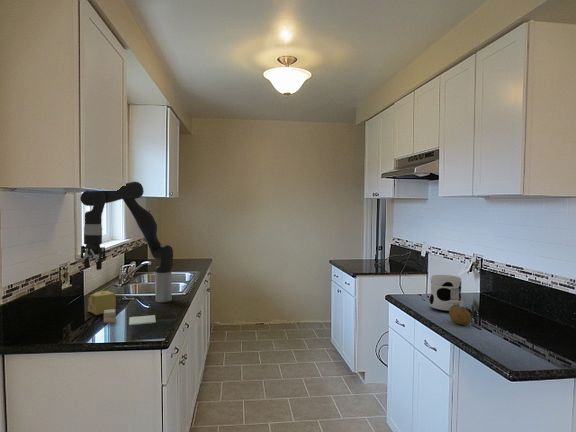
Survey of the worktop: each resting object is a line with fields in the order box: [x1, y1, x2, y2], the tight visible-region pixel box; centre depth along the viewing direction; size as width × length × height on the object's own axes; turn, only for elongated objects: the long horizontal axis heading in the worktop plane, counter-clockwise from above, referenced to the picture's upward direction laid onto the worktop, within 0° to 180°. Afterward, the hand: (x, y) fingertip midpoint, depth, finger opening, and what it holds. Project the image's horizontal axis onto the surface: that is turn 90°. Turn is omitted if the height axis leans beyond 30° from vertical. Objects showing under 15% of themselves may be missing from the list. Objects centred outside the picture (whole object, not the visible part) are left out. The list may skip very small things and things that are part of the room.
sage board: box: [128, 314, 157, 326], centre depth 194 cm, size 12×12×1 cm
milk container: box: [428, 274, 464, 313], centre depth 216 cm, size 17×17×18 cm
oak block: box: [103, 308, 117, 324], centre depth 193 cm, size 5×5×5 cm
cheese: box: [87, 290, 117, 316], centre depth 210 cm, size 10×11×10 cm
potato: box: [448, 306, 473, 326], centre depth 190 cm, size 10×14×8 cm
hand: (92, 268), depth 182 cm, fingers open, 8 cm apart
